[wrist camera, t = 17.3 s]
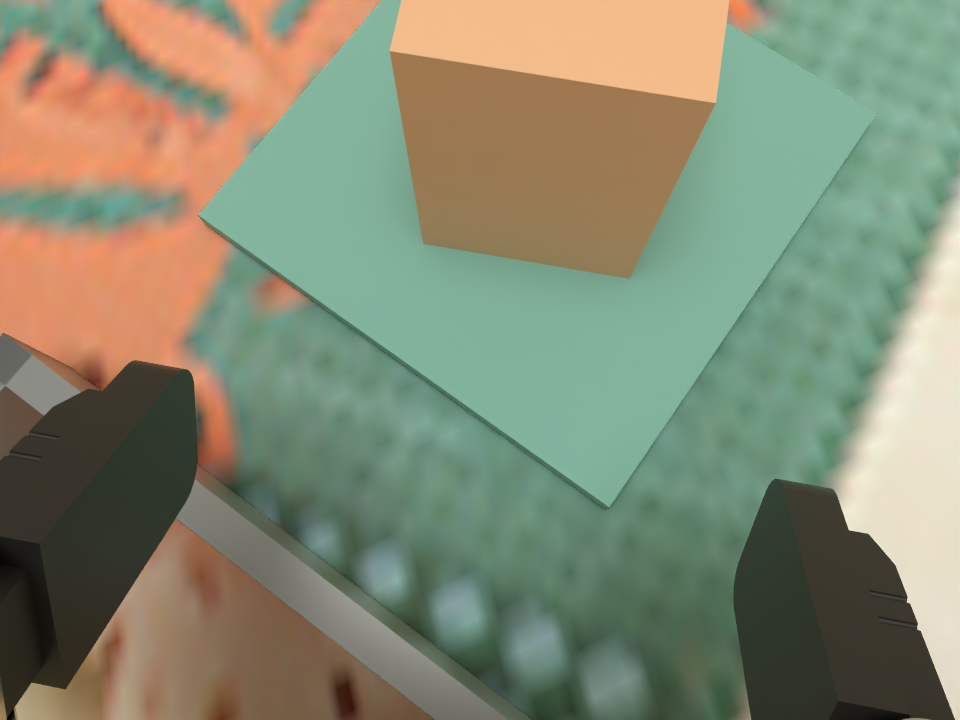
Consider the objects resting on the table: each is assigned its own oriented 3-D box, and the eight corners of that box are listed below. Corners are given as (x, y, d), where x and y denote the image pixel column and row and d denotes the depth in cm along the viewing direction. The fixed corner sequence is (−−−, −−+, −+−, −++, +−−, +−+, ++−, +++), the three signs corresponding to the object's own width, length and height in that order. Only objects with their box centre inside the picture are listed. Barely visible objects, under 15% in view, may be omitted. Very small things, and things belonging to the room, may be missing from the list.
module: (423, 243, 21) (389, 51, 13) (461, 61, 22) (450, -212, 15) (629, 278, 21) (715, 102, 13) (657, 93, 22) (751, -169, 14)
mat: (205, 224, 22) (198, 214, 21) (486, -106, 24) (486, -123, 24) (605, 509, 20) (609, 507, 20) (866, 125, 23) (877, 113, 22)
